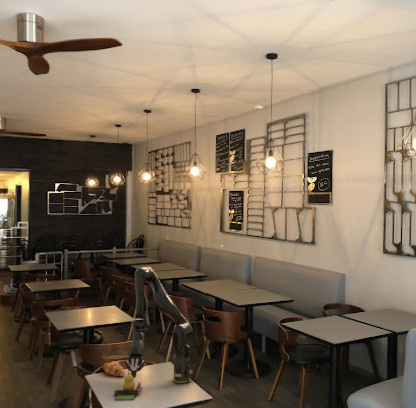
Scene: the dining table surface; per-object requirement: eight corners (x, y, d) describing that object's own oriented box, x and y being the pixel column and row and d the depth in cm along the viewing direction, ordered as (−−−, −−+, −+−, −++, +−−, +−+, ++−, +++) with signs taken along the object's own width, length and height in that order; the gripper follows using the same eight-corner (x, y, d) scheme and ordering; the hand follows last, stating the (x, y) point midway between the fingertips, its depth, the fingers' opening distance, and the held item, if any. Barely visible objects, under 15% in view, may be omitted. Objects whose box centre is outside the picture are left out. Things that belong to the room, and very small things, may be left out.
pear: (135, 389, 253) (135, 369, 253) (133, 393, 246) (134, 374, 246) (123, 389, 252) (123, 370, 252) (121, 394, 246) (122, 374, 246)
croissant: (127, 381, 272) (133, 368, 275) (115, 378, 265) (121, 364, 268) (107, 372, 286) (112, 359, 288) (94, 368, 279) (100, 355, 281)
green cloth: (134, 396, 244) (134, 394, 244) (132, 399, 239) (133, 398, 239) (117, 396, 243) (117, 395, 243) (115, 400, 238) (115, 399, 238)
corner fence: (140, 387, 255) (140, 382, 255) (137, 395, 244) (137, 390, 244) (118, 388, 254) (118, 382, 254) (114, 395, 243) (114, 390, 243)
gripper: (124, 346, 267) (120, 375, 255) (147, 346, 268) (144, 374, 256) (126, 352, 272) (122, 380, 260) (148, 352, 273) (145, 380, 261)
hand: (133, 377), depth 258 cm, fingers closed
